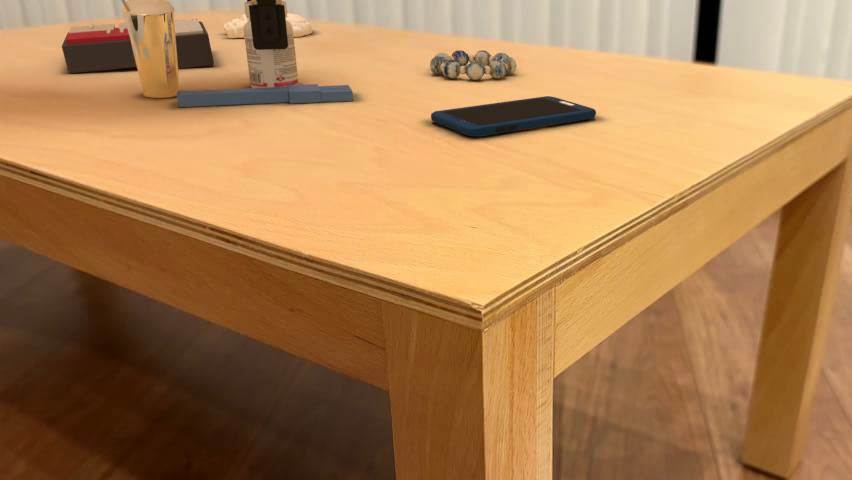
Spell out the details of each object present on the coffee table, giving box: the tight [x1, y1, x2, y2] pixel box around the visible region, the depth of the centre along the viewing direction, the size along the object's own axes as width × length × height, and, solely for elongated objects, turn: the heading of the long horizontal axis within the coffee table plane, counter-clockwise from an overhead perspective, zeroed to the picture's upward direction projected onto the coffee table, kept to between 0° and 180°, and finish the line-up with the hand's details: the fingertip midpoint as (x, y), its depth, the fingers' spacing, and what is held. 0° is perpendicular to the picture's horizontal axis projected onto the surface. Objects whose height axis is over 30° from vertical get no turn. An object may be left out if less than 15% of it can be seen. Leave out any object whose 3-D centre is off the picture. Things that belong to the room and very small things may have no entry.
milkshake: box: [120, 0, 181, 99], centre depth 82 cm, size 4×5×10 cm
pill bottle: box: [243, 0, 299, 88], centre depth 87 cm, size 5×5×8 cm
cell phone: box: [430, 95, 597, 137], centre depth 78 cm, size 7×14×1 cm, turn 127°
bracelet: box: [429, 49, 517, 81], centre depth 98 cm, size 10×10×2 cm
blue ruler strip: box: [175, 83, 354, 108], centre depth 83 cm, size 16×3×1 cm, turn 108°
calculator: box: [61, 18, 215, 74], centre depth 99 cm, size 11×4×15 cm
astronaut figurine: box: [222, 12, 313, 39], centre depth 121 cm, size 9×12×3 cm
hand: (268, 41), depth 87 cm, fingers open, 9 cm apart
